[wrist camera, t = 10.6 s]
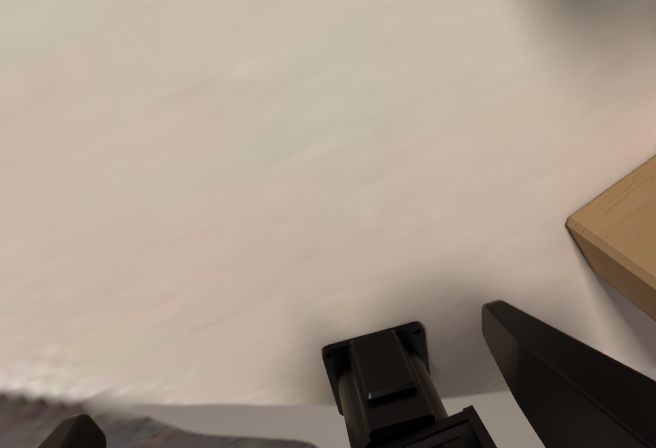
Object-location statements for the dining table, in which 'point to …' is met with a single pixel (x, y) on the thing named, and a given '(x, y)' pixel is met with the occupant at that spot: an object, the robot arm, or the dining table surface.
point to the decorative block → (623, 236)
